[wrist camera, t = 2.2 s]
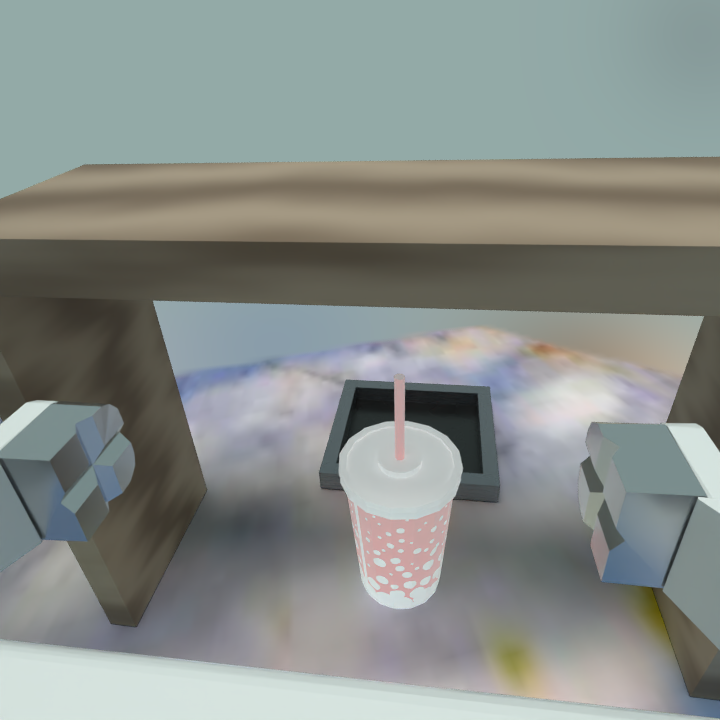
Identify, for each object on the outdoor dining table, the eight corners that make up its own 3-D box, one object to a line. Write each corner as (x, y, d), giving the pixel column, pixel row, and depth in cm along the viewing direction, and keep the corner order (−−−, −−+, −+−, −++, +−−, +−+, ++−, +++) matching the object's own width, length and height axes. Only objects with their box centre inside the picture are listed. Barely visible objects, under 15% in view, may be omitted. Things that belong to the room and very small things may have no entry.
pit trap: (497, 502, 35) (499, 486, 34) (321, 487, 37) (319, 472, 36) (488, 401, 44) (489, 386, 43) (346, 393, 46) (345, 379, 45)
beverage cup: (475, 584, 30) (500, 384, 22) (388, 645, 27) (383, 442, 20) (409, 514, 34) (411, 328, 27) (328, 561, 32) (305, 368, 24)
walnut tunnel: (724, 700, 24) (1037, 249, 12) (110, 623, 29) (-96, 237, 17) (655, 526, 33) (802, 155, 21) (186, 488, 37) (84, 164, 25)
